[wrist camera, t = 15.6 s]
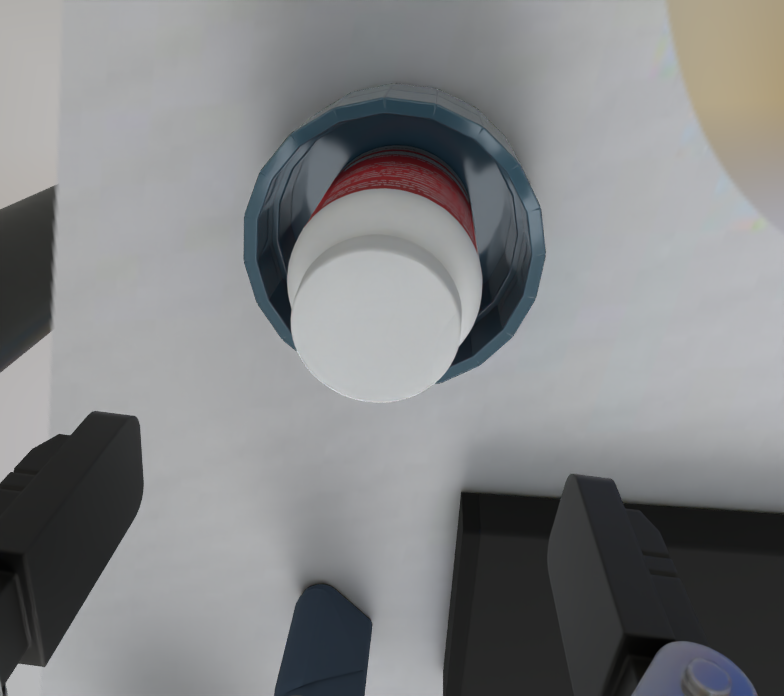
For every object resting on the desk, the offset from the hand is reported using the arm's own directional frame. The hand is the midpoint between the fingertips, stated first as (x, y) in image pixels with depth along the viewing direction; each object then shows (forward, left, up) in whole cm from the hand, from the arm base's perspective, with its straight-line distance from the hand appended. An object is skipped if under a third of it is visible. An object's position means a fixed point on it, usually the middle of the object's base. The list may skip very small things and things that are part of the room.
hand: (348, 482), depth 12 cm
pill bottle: (0, 0, -18) cm, 18 cm away
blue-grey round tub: (0, 0, -18) cm, 18 cm away
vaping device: (-1, -24, -18) cm, 30 cm away
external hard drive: (+17, -20, -18) cm, 32 cm away
